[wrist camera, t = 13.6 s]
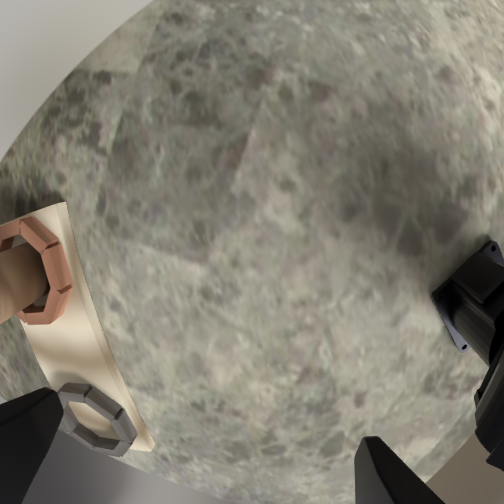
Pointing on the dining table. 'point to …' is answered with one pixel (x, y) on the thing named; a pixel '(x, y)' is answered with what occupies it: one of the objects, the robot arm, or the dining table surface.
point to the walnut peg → (21, 279)
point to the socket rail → (75, 340)
